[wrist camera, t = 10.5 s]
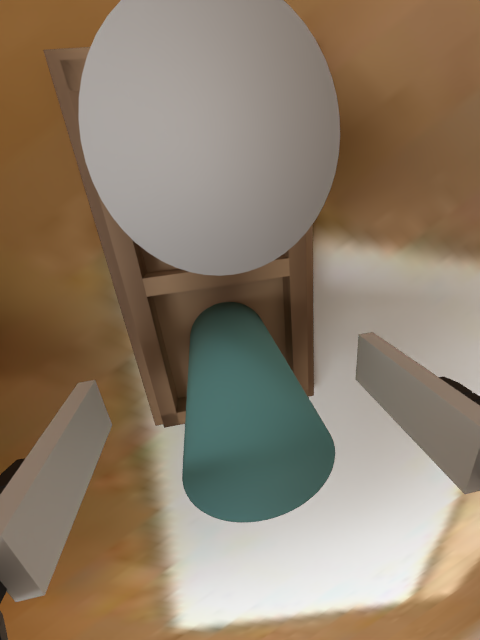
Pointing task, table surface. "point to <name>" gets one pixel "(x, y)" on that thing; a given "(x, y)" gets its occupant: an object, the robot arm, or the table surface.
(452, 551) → the table surface
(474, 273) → the table surface
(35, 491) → the robot arm
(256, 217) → the white cylinder
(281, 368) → the teal rounded cylinder
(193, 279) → the rack
